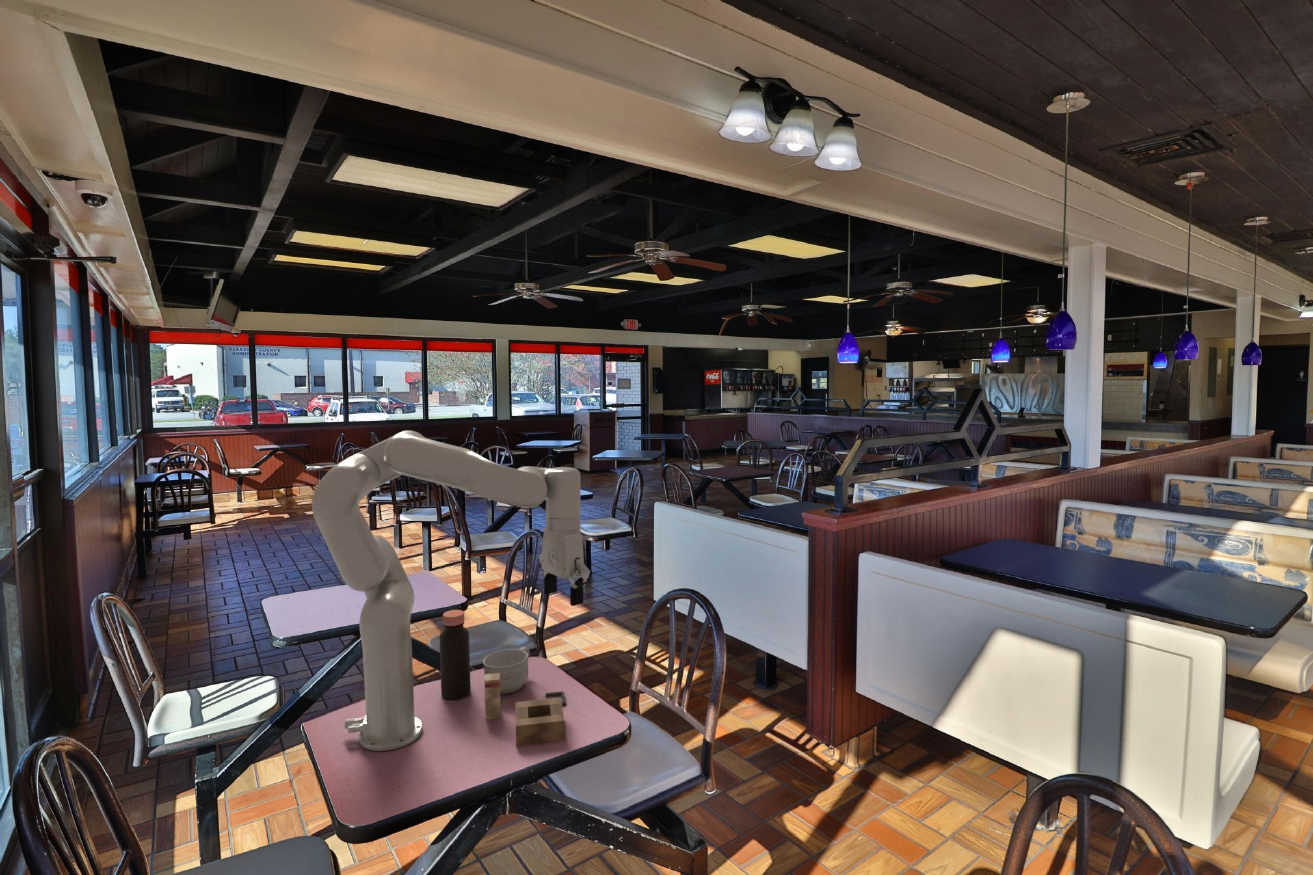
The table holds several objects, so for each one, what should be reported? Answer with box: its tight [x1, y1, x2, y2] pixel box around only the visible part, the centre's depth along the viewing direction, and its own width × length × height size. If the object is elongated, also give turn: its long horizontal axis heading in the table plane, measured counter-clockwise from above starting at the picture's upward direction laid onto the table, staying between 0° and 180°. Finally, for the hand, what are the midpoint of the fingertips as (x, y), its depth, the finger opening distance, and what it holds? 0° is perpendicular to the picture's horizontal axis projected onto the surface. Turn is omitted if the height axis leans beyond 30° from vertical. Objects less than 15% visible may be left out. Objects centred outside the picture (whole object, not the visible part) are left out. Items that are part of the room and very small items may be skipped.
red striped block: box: [484, 673, 502, 720], centre depth 149 cm, size 3×3×9 cm
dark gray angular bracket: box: [545, 691, 566, 707], centre depth 155 cm, size 8×6×1 cm
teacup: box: [482, 646, 530, 695], centre depth 163 cm, size 14×11×8 cm
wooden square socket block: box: [514, 697, 566, 747], centre depth 142 cm, size 10×10×4 cm
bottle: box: [438, 609, 472, 701], centre depth 158 cm, size 7×7×20 cm
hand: (563, 598), depth 147 cm, fingers open, 9 cm apart
